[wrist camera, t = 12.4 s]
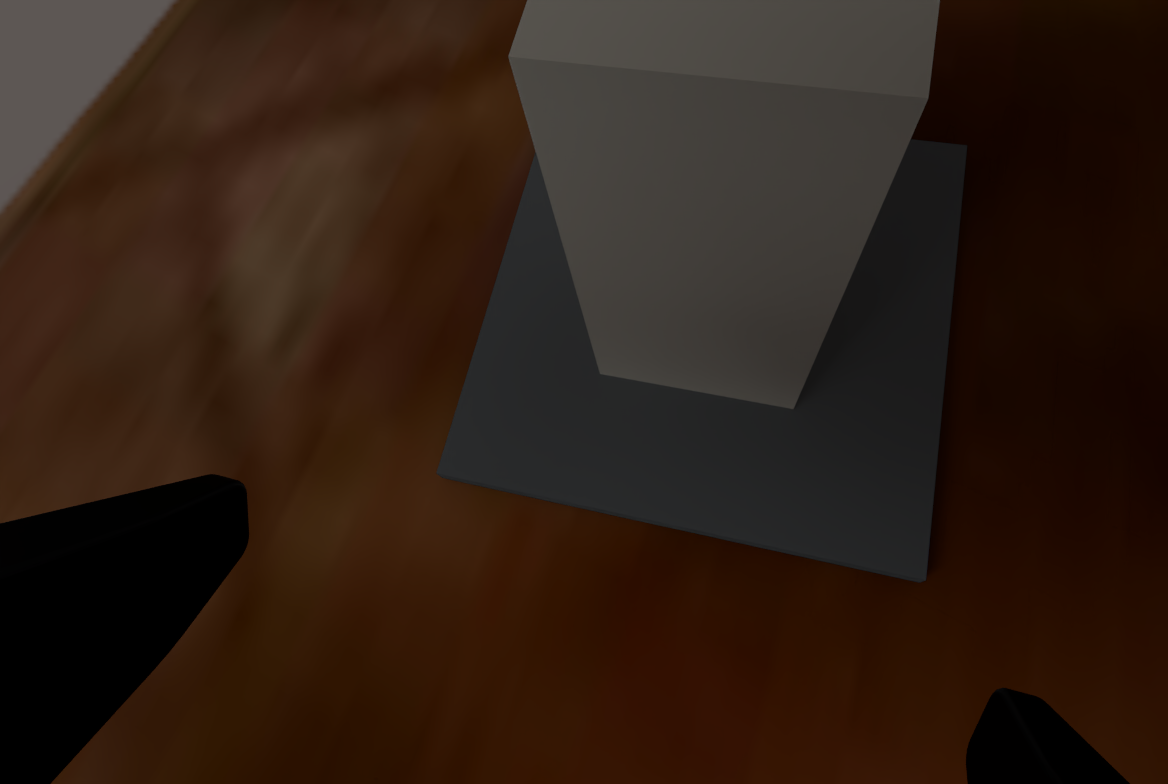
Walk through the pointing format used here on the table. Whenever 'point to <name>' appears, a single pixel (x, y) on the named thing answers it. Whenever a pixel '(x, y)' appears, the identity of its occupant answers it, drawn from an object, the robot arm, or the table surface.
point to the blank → (719, 171)
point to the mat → (732, 400)
